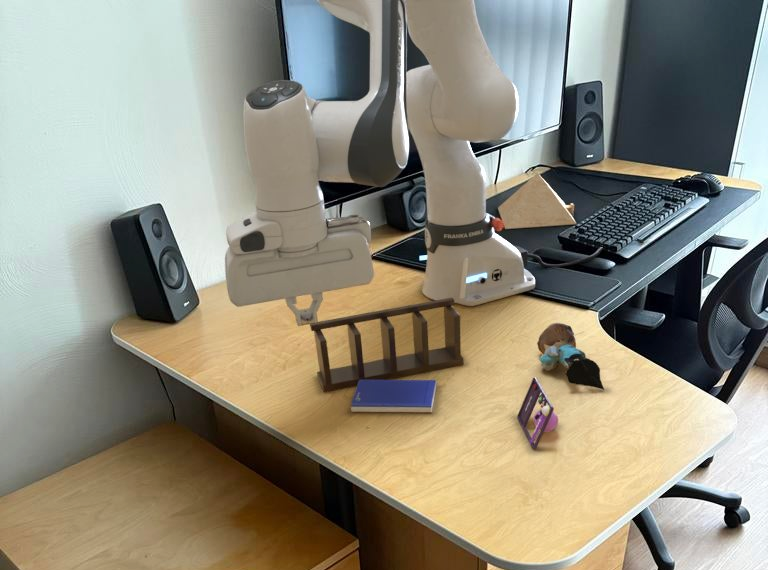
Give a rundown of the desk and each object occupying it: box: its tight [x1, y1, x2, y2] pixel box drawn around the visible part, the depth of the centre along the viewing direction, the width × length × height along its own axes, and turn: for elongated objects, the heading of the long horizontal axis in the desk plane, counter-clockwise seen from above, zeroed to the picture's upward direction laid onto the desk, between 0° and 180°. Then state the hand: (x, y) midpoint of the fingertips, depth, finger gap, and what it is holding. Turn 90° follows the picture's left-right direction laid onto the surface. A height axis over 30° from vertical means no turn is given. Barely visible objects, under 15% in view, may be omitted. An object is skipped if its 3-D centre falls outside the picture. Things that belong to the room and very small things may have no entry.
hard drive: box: [350, 379, 437, 413], centre depth 120 cm, size 2×8×12 cm
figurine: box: [536, 322, 605, 391], centre depth 121 cm, size 8×16×6 cm, turn 10°
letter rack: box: [309, 298, 465, 393], centre depth 125 cm, size 24×5×10 cm, turn 105°
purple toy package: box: [516, 377, 559, 450], centre depth 108 cm, size 7×5×9 cm
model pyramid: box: [497, 172, 577, 230], centre depth 183 cm, size 17×17×10 cm
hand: (307, 323), depth 109 cm, fingers closed
